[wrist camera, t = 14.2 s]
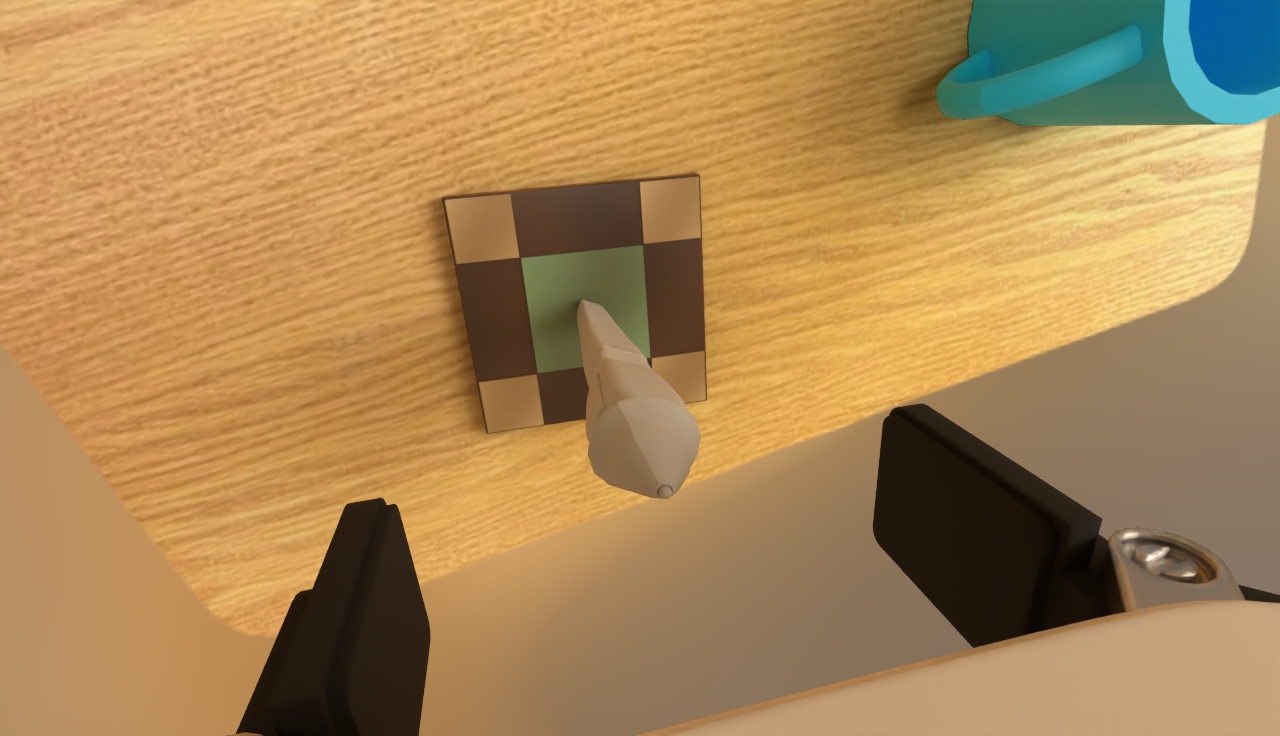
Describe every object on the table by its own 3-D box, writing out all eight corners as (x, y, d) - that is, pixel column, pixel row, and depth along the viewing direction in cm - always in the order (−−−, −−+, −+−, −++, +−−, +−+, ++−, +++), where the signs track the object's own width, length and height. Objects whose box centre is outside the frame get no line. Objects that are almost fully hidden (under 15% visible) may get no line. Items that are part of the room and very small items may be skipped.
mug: (1131, -136, 24) (1419, -260, 16) (1149, 73, 27) (1394, 51, 19) (861, 8, 24) (1025, -48, 16) (913, 201, 27) (1067, 227, 19)
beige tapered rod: (608, 344, 26) (707, 555, 13) (547, 330, 25) (586, 539, 12) (625, 288, 25) (747, 453, 12) (562, 271, 24) (622, 429, 11)
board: (486, 428, 27) (486, 435, 26) (443, 195, 23) (441, 197, 22) (703, 395, 28) (708, 401, 28) (696, 172, 25) (701, 173, 24)
